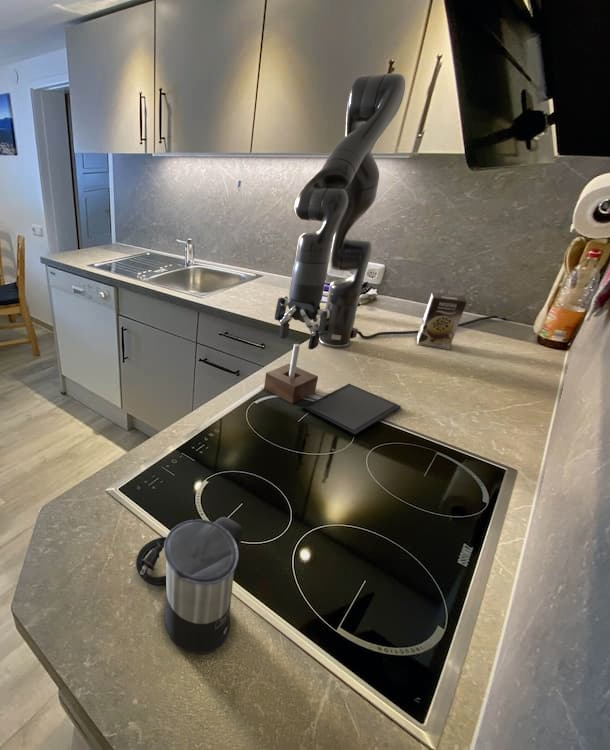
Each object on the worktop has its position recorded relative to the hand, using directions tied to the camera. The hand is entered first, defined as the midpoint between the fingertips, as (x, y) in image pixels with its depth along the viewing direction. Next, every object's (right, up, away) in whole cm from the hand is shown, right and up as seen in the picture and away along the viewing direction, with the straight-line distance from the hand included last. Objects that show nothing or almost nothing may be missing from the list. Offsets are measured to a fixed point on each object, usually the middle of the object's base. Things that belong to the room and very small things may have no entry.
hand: (297, 342), depth 105 cm
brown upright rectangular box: (+57, +2, +32) cm, 65 cm away
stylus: (0, -12, +7) cm, 14 cm away
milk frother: (-33, -41, -44) cm, 69 cm away
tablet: (+13, -17, -2) cm, 21 cm away
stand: (0, -12, +7) cm, 14 cm away
